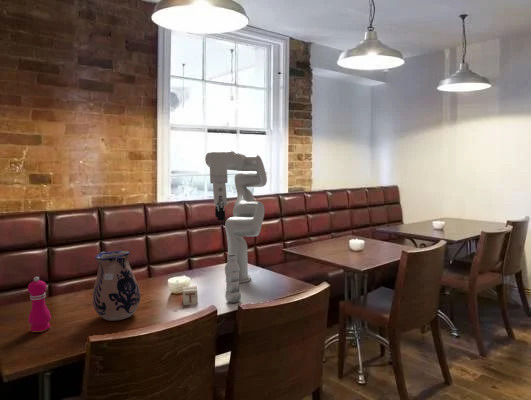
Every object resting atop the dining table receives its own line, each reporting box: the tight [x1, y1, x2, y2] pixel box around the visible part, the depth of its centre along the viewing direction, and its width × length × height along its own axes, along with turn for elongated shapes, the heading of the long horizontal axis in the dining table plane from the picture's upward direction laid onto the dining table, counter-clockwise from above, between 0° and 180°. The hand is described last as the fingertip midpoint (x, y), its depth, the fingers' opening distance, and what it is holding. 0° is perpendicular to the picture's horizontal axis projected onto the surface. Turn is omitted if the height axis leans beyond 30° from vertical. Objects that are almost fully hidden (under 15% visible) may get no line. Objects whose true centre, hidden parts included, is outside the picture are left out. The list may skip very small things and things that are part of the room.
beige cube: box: [182, 285, 199, 306], centre depth 179 cm, size 6×6×6 cm
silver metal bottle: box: [224, 254, 242, 304], centre depth 177 cm, size 6×7×20 cm
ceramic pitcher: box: [92, 250, 141, 322], centre depth 165 cm, size 18×21×25 cm
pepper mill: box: [27, 276, 52, 332], centre depth 153 cm, size 7×7×20 cm
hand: (220, 218), depth 185 cm, fingers open, 9 cm apart
